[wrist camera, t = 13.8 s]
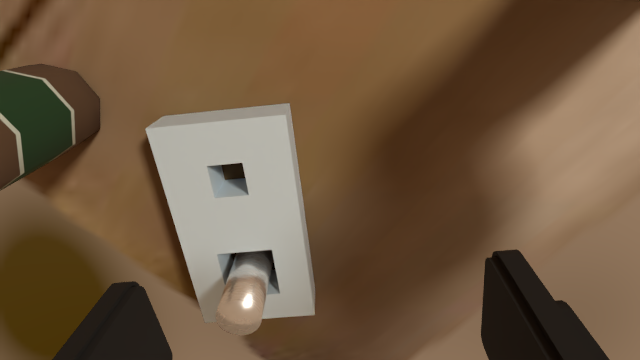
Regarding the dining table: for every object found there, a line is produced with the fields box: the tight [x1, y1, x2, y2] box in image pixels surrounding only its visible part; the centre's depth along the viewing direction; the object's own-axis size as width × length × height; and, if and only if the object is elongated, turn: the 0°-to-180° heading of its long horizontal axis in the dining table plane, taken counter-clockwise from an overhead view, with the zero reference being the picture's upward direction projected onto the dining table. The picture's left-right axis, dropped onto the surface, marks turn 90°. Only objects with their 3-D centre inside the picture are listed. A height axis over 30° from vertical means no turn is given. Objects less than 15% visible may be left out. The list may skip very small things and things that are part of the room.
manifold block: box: [146, 103, 315, 323], centre depth 38 cm, size 12×22×4 cm, turn 6°
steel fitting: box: [215, 250, 273, 335], centre depth 38 cm, size 4×4×10 cm
